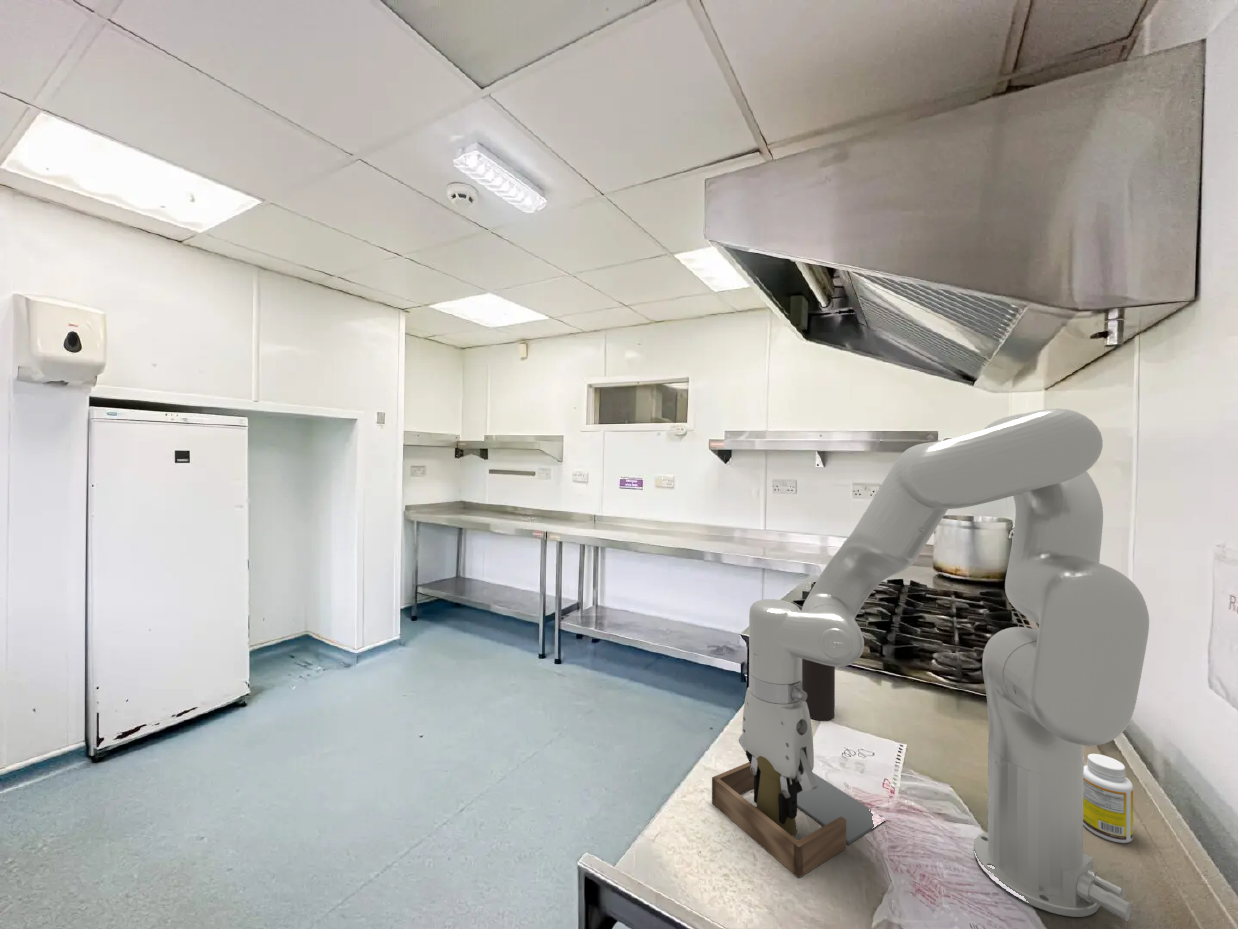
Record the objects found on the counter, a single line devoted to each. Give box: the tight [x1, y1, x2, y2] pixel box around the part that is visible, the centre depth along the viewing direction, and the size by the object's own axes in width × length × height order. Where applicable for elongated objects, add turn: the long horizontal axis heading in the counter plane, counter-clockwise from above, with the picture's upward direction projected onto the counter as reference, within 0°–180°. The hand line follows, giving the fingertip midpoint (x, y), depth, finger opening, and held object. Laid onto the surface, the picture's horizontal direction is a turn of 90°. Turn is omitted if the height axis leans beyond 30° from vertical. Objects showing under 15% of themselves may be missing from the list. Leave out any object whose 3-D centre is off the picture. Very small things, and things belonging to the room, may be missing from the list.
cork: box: [755, 756, 798, 837], centre depth 74 cm, size 6×6×11 cm
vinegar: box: [802, 659, 836, 722], centre depth 107 cm, size 7×7×20 cm
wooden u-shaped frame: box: [711, 761, 847, 879], centre depth 74 cm, size 17×10×4 cm, turn 31°
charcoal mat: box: [790, 772, 874, 845], centre depth 79 cm, size 16×9×1 cm, turn 31°
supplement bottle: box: [1083, 753, 1134, 844], centre depth 73 cm, size 6×6×10 cm
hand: (774, 808), depth 74 cm, fingers closed on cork, 4 cm apart
